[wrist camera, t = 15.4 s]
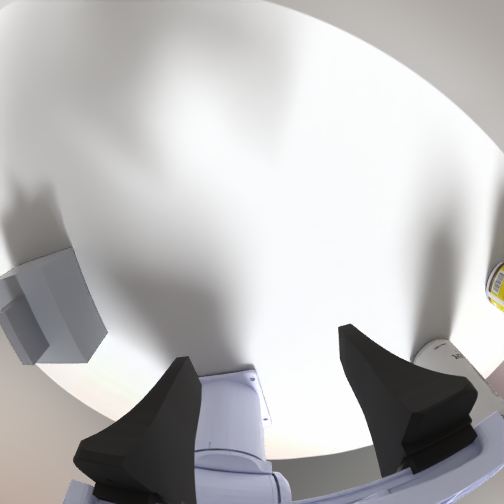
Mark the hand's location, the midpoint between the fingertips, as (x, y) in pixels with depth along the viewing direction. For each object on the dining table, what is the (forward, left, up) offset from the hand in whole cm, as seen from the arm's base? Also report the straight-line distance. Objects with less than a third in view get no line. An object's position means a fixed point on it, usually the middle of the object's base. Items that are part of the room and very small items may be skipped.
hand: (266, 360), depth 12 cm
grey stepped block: (+1, +20, -10) cm, 23 cm away
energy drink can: (-15, -18, -11) cm, 26 cm away
